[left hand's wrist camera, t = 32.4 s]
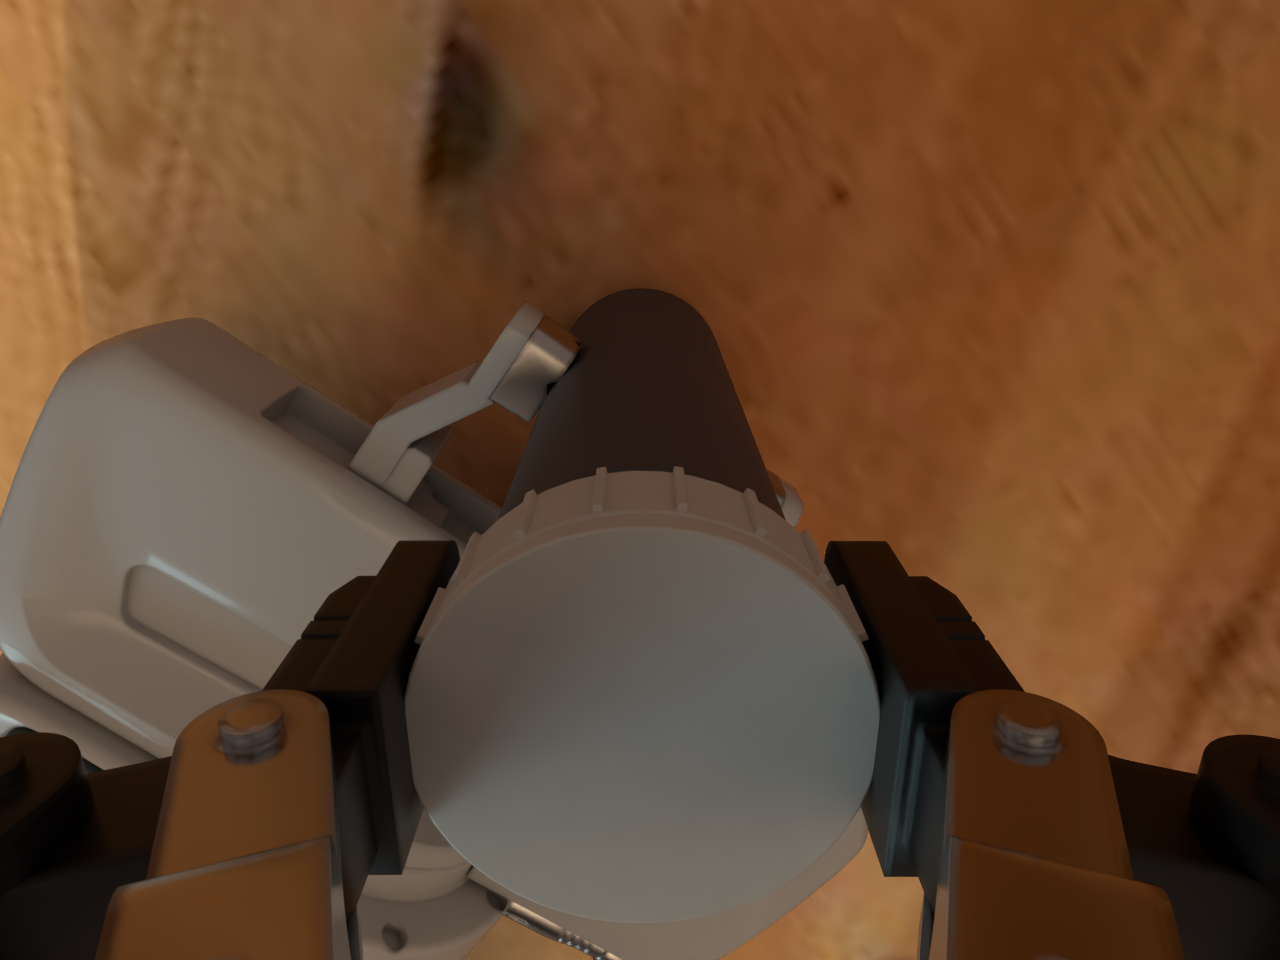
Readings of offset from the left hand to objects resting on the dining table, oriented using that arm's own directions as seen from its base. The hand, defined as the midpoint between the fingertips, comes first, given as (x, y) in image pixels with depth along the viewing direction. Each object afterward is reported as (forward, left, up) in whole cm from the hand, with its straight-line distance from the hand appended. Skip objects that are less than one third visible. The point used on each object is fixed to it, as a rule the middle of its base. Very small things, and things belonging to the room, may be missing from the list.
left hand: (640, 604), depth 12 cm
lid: (0, 0, +3) cm, 3 cm away
